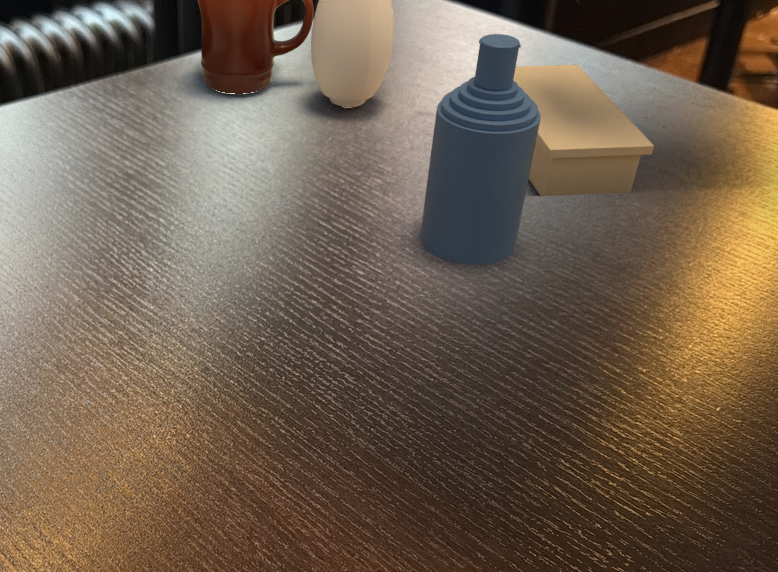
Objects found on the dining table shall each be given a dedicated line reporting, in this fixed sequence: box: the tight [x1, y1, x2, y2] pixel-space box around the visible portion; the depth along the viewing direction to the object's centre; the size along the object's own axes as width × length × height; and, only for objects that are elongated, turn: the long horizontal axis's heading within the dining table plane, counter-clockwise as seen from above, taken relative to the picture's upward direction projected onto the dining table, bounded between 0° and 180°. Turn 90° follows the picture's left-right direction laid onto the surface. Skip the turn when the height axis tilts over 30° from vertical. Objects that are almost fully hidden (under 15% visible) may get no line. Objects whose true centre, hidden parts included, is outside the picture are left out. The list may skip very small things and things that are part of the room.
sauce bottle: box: [310, 0, 395, 108], centre depth 95 cm, size 8×8×18 cm
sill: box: [513, 64, 655, 197], centre depth 90 cm, size 9×18×5 cm, turn 5°
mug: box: [196, 0, 315, 94], centre depth 101 cm, size 12×9×10 cm
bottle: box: [419, 33, 541, 266], centre depth 73 cm, size 7×7×17 cm
